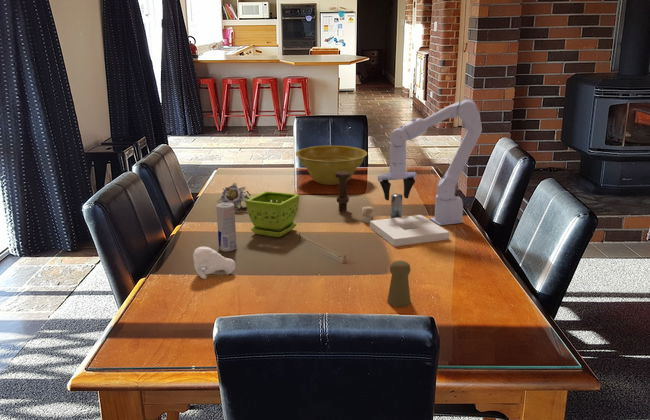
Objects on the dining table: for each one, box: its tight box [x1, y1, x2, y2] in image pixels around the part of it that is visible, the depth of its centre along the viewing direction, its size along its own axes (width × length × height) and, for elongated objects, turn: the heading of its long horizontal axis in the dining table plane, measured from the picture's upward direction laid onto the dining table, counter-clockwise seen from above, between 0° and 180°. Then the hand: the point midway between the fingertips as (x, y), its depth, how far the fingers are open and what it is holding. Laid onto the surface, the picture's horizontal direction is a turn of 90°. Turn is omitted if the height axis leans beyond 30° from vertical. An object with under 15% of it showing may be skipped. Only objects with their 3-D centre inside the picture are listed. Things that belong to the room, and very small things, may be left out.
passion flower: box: [217, 182, 251, 209], centre depth 234 cm, size 11×11×12 cm
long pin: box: [390, 193, 403, 218], centre depth 220 cm, size 4×4×9 cm
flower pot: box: [245, 191, 300, 238], centre depth 206 cm, size 14×14×13 cm
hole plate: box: [369, 214, 450, 247], centre depth 205 cm, size 20×20×2 cm
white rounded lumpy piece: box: [192, 246, 236, 280], centre depth 172 cm, size 6×8×12 cm
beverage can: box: [216, 202, 237, 253], centre depth 190 cm, size 6×6×15 cm
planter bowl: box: [295, 145, 368, 186], centre depth 272 cm, size 32×32×13 cm
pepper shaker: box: [386, 260, 412, 308], centre depth 153 cm, size 6×6×11 cm
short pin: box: [361, 205, 374, 224], centre depth 218 cm, size 4×4×5 cm
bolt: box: [336, 171, 350, 212], centre depth 229 cm, size 6×5×15 cm
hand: (396, 198), depth 219 cm, fingers open, 7 cm apart
